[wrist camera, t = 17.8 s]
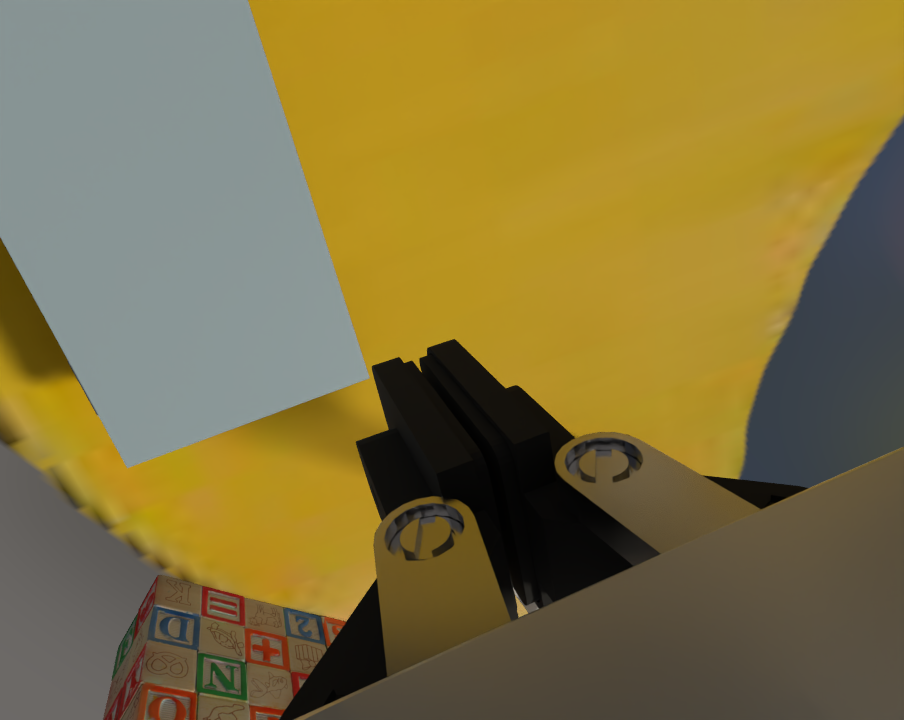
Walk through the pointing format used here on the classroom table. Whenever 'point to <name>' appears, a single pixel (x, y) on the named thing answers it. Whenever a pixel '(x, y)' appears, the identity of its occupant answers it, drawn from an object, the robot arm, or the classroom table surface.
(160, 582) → the stack of blocks
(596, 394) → the classroom table surface
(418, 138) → the classroom table surface
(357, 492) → the classroom table surface
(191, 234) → the grey flat panel
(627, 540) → the robot arm
